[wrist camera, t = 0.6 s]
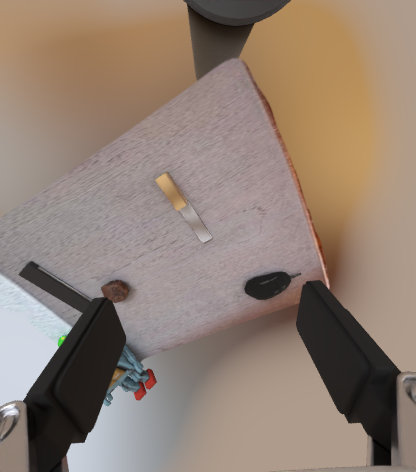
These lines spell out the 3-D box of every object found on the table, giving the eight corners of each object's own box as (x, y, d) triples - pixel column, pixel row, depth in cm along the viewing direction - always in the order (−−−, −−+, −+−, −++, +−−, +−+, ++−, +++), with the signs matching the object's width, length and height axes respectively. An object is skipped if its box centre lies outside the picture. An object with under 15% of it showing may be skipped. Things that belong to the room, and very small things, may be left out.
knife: (157, 177, 38) (154, 180, 36) (168, 170, 38) (165, 173, 35) (202, 242, 45) (202, 248, 43) (212, 237, 45) (213, 243, 42)
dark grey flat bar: (31, 260, 46) (22, 271, 48) (27, 264, 45) (18, 274, 47) (95, 301, 53) (85, 309, 54) (92, 304, 51) (82, 313, 53)
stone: (127, 275, 49) (122, 283, 46) (135, 296, 52) (132, 305, 49) (101, 278, 49) (95, 287, 46) (112, 299, 53) (106, 308, 50)
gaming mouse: (302, 281, 51) (309, 293, 48) (247, 296, 53) (250, 308, 50) (299, 264, 48) (306, 274, 45) (241, 280, 50) (244, 291, 47)
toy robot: (133, 412, 62) (44, 396, 44) (125, 379, 71) (48, 355, 52) (164, 377, 65) (93, 350, 47) (153, 350, 74) (89, 318, 55)
